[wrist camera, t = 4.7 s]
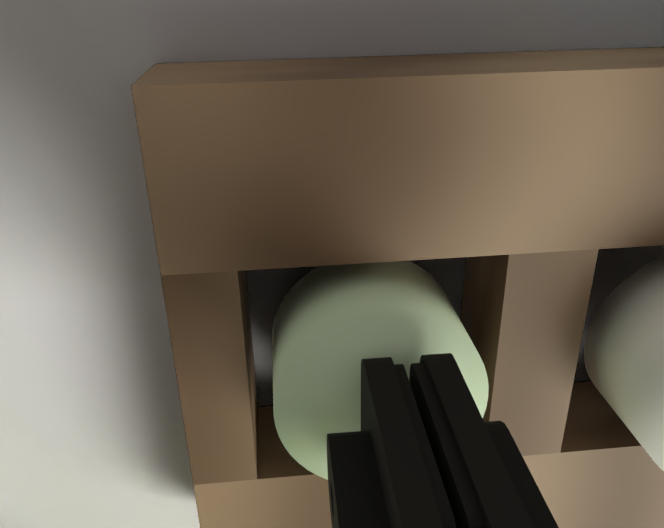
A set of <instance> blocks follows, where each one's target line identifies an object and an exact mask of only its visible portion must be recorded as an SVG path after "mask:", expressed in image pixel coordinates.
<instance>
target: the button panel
mask: <svg viewBox="0 0 664 528" xmlns="http://www.w3.org/2000/svg"><path fill="white" fill-rule="evenodd" d="M131 89H132V95H133V101H134V108H135V114H136V121H137V127H138V133H139V140H140V146H141V153H142V159H143V165H144V172H145V178H146V184H147V191H148V197H149V204H150V210H151V216H152V223H153V229H154V236H155V242H156V248H157V255H158V261H159V267H160V274H161V280H162V287H163V293H164V299H165V306H166V312H167V319H168V325H169V331H170V338H171V344H172V350H173V357H174V363H175V370H176V376H177V382H178V389H179V395H180V402H181V408H182V414H183V421H184V427H185V433H186V440H187V446H188V453H189V459H190V465H191V472H192V478H193V485H194V491H195V497H196V504H197V510H198V516H199V523H200V528H332V521H331V511H330V501H329V487H328V480H327V479H324V478H322V477H319V476H317V475H316V474H314V473H312V472H310V471H308V470H307V469H306V468H304V467H303V466H302V465H300V464H299V463H298V462H297V461H296V460H295V459H294V458H293V457H292V456H291V455H290V454H289V452H288V451H287V450H286V448H285V447H284V445H283V443H282V442H281V440H280V438H279V436H278V433H277V430H276V427H275V421H274V415H273V406H268V407H258V401H257V390H256V379H255V367H254V356H253V345H252V333H251V322H250V311H249V299H248V288H247V277H246V270H261V269H278V268H294V267H311V266H327V265H344V264H361V263H377V262H394V261H410V260H427V259H444V258H460V257H466V263H465V275H464V287H463V298H462V310H461V323H462V324H463V326H464V328H465V330H466V332H467V333H468V335H469V337H470V339H471V341H472V342H473V344H474V346H475V348H476V350H477V351H478V353H479V355H480V357H481V359H482V361H483V363H484V366H485V369H486V373H487V377H488V385H489V390H488V401H487V407H486V410H485V413H484V416H483V420H484V422H490V421H502V422H503V423H505V425H506V426H507V428H508V429H509V431H510V433H511V435H512V437H513V439H514V441H515V443H516V445H517V447H518V449H519V451H520V453H521V455H522V457H523V459H524V461H525V463H526V464H527V466H528V468H529V470H530V472H531V474H532V476H533V478H534V480H535V482H536V484H537V486H538V488H539V490H540V492H541V494H542V496H543V498H544V500H545V502H546V504H547V506H548V508H549V510H550V512H551V513H552V515H553V517H554V519H555V521H556V523H557V525H558V527H559V528H664V471H663V470H661V469H660V468H659V467H658V465H657V464H656V463H655V462H654V461H653V460H652V458H651V457H650V456H649V454H648V453H647V452H646V451H645V449H644V448H643V447H642V446H641V444H640V443H639V442H638V440H637V439H636V438H635V437H634V435H633V434H632V433H631V432H630V430H629V429H628V428H627V426H626V425H625V424H624V423H623V421H622V420H621V419H620V418H619V416H618V415H617V414H616V412H615V411H614V410H613V409H612V407H611V406H610V405H609V404H608V402H607V401H606V400H605V398H604V397H603V396H602V395H601V393H600V392H599V391H598V390H597V388H596V387H595V386H594V384H593V383H592V381H587V382H574V377H575V372H576V367H577V361H578V356H579V351H580V345H581V340H582V335H583V329H584V324H585V319H586V314H587V308H588V303H589V298H590V292H591V287H592V282H593V276H594V271H595V266H596V261H597V255H598V250H599V249H609V248H626V247H643V246H659V245H664V47H648V48H617V49H587V50H556V51H525V52H495V53H464V54H434V55H403V56H372V57H342V58H311V59H280V60H250V61H219V62H189V63H158V64H154V65H153V66H152V67H151V68H150V69H149V70H148V71H147V72H146V73H145V74H144V75H143V76H142V77H141V78H139V79H138V80H137V81H136V82H135V83H134V84H133V85H132V86H131ZM573 382H574V383H573Z"/></svg>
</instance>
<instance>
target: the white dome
mask: <svg viewBox="0 0 664 528" xmlns="http://www.w3.org/2000/svg"><path fill="white" fill-rule="evenodd" d="M584 362H585V367H586V370H587V373H588V375H589V378H590V379H591V381H592V383H593V384H594V386H595V387H596V388H597V390H598V391H599V392H600V393H601V395H602V396H603V397H604V398H605V400H606V401H607V402H608V404H609V405H610V406H611V407H612V409H613V410H614V411H615V412H616V414H617V415H618V416H619V418H620V419H621V420H622V421H623V423H624V424H625V425H626V426H627V428H628V429H629V430H630V432H631V433H632V434H633V435H634V437H635V438H636V439H637V440H638V442H639V443H640V444H641V446H642V447H643V448H644V449H645V451H646V452H647V453H648V454H649V456H650V457H651V458H652V460H653V461H654V462H655V463H656V464H657V465H658V467H659V468H660V469H661V470H663V471H664V257H662V258H659V259H657V260H655V261H653V262H651V263H649V264H647V265H645V266H643V267H642V268H640V269H638V270H637V271H635V272H634V273H632V274H631V275H630V276H628V277H627V278H626V279H624V280H623V281H622V282H621V283H620V284H619V285H618V286H616V287H615V288H614V289H613V290H612V292H611V293H610V294H609V295H608V296H607V297H606V298H605V300H604V301H603V302H602V304H601V305H600V307H599V308H598V310H597V311H596V313H595V315H594V317H593V319H592V321H591V323H590V326H589V328H588V331H587V335H586V338H585V345H584Z"/></svg>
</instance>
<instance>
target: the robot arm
mask: <svg viewBox="0 0 664 528" xmlns="http://www.w3.org/2000/svg"><path fill="white" fill-rule="evenodd" d="M327 470H328V487H329V501H330V511H331V521H332V528H559V527H558V525H557V523H556V521H555V519H554V517H553V515H552V513H551V512H550V510H549V508H548V506H547V504H546V502H545V500H544V498H543V496H542V494H541V492H540V490H539V488H538V486H537V484H536V482H535V480H534V478H533V476H532V474H531V472H530V470H529V468H528V466H527V464H526V463H525V461H524V459H523V457H522V455H521V453H520V451H519V449H518V447H517V445H516V443H515V441H514V439H513V437H512V435H511V433H510V431H509V429H508V428H507V426H506V425H505V423H503V422H502V421H490V422H484V420H483V418H482V416H481V414H480V412H479V410H478V408H477V405H476V403H475V401H474V399H473V397H472V395H471V392H470V390H469V388H468V386H467V384H466V382H465V380H464V377H463V375H462V373H461V371H460V369H459V367H458V365H457V362H456V360H455V358H454V356H453V355H452V354H451V353H443V354H428V355H422V356H421V358H420V363H412V364H411V366H410V377H409V379H408V376H407V373H406V370H405V367H404V365H403V364H395V365H394V363H393V360H392V358H391V357H383V358H368V359H362V360H361V431H356V432H343V433H330V434H327Z"/></svg>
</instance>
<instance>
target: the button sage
mask: <svg viewBox="0 0 664 528" xmlns="http://www.w3.org/2000/svg"><path fill="white" fill-rule="evenodd" d="M443 353H451V354H452V355H453V356H454V358H455V360H456V362H457V365H458V367H459V369H460V371H461V373H462V375H463V377H464V380H465V382H466V384H467V386H468V388H469V390H470V392H471V395H472V397H473V399H474V401H475V403H476V405H477V408H478V410H479V412H480V414H481V416H482V418H483V416H484V413H485V410H486V407H487V401H488V390H489V385H488V377H487V373H486V369H485V366H484V363H483V361H482V359H481V357H480V355H479V353H478V351H477V350H476V348H475V346H474V344H473V342H472V341H471V339H470V337H469V335H468V333H467V332H466V330H465V328H464V326H463V324H462V323H461V321H460V319H459V317H458V315H457V313H456V312H455V310H454V308H453V306H452V304H451V303H450V301H449V299H448V297H447V295H446V294H445V292H444V290H443V289H442V287H441V286H440V285H439V283H438V282H437V281H436V280H435V279H434V278H433V277H432V276H431V275H430V274H429V273H428V272H426V271H425V270H424V269H423V268H421V267H419V266H418V265H416V264H414V263H412V262H410V261H394V262H377V263H361V264H344V265H327V266H319V267H317V268H315V269H313V270H312V271H310V272H309V273H307V274H306V275H305V276H304V277H302V278H301V279H300V280H299V281H298V282H297V283H296V284H295V285H294V286H293V287H292V288H291V289H290V290H289V292H288V293H287V294H286V296H285V297H284V299H283V300H282V302H281V304H280V306H279V308H278V310H277V313H276V316H275V319H274V322H273V328H272V373H273V415H274V421H275V427H276V430H277V433H278V436H279V438H280V440H281V442H282V443H283V445H284V447H285V448H286V450H287V451H288V452H289V454H290V455H291V456H292V457H293V458H294V459H295V460H296V461H297V462H298V463H299V464H300V465H302V466H303V467H304V468H306V469H307V470H308V471H310V472H312V473H314V474H316V475H317V476H319V477H322V478H324V479H327V480H328V470H327V434H330V433H343V432H356V431H361V360H362V359H368V358H383V357H391V358H392V360H393V363H394V365H395V364H403V365H404V367H405V370H406V373H407V376H408V379H409V377H410V366H411V364H412V363H420V358H421V356H422V355H428V354H443Z"/></svg>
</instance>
